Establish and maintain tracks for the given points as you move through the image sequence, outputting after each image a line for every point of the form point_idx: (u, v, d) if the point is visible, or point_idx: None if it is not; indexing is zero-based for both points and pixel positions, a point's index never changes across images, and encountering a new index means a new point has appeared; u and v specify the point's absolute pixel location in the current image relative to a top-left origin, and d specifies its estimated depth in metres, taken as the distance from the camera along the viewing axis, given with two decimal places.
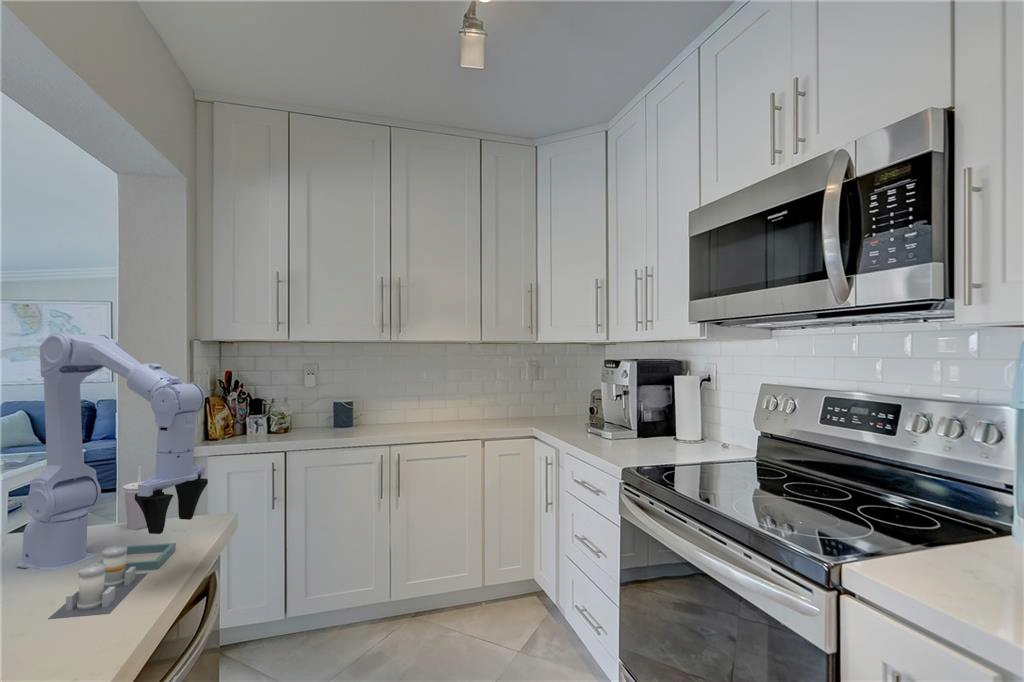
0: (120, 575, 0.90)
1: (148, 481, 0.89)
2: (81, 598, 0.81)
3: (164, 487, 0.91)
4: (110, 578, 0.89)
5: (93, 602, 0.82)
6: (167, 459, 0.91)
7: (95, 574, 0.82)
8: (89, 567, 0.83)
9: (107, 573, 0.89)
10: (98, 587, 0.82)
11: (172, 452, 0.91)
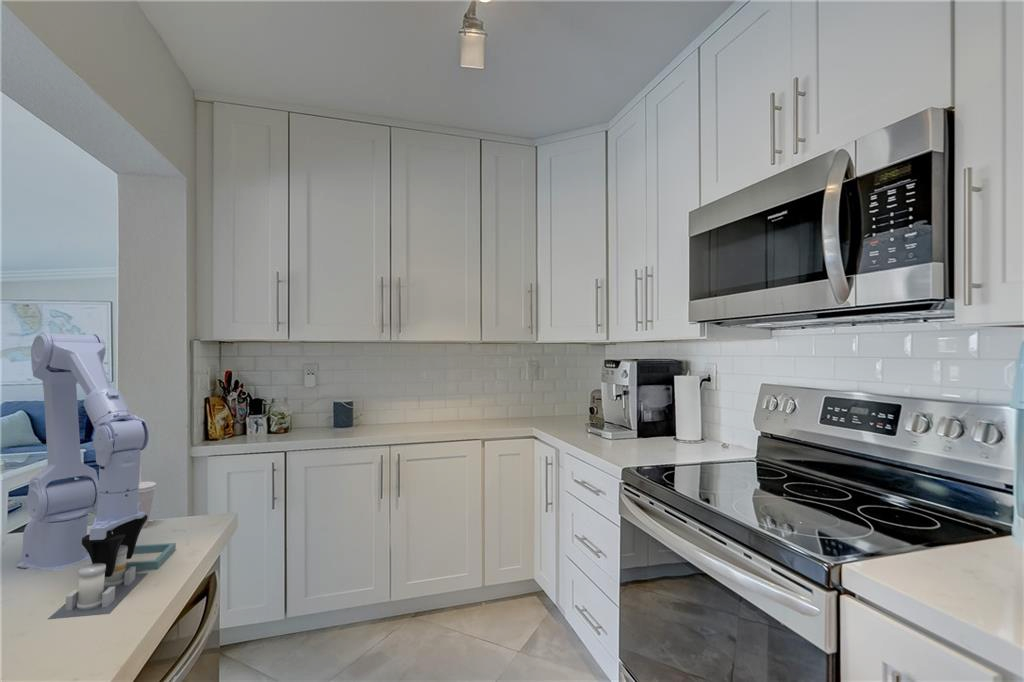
0: (120, 575, 0.90)
1: (96, 524, 0.86)
2: (81, 598, 0.81)
3: (111, 528, 0.88)
4: (110, 578, 0.89)
5: (93, 602, 0.82)
6: (115, 499, 0.88)
7: (95, 574, 0.82)
8: (89, 567, 0.83)
9: None
10: (98, 587, 0.82)
11: (120, 491, 0.89)
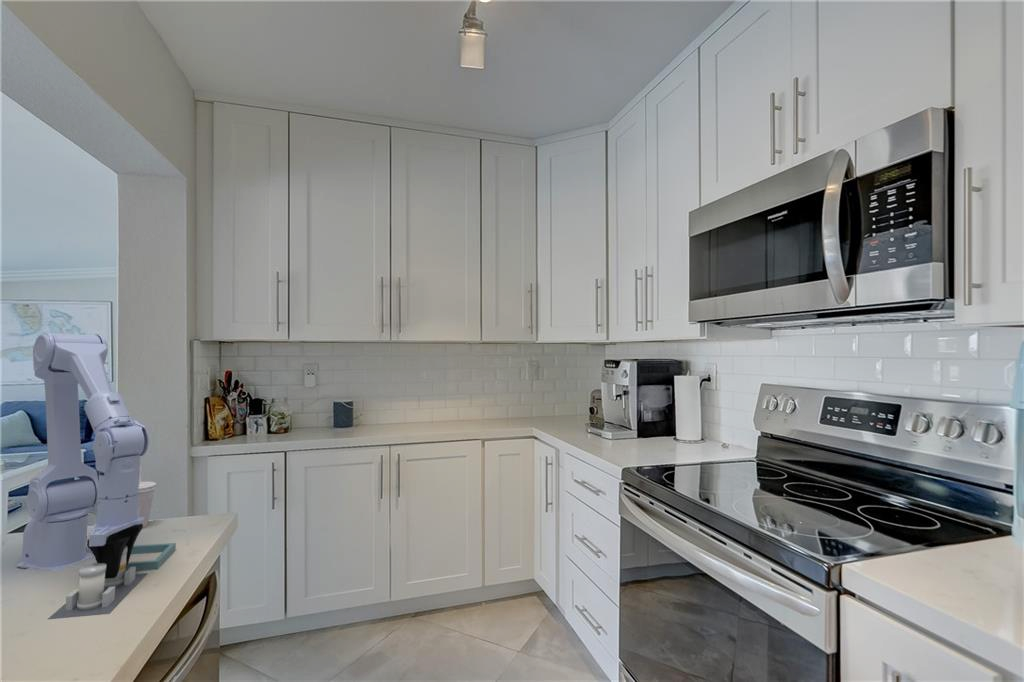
0: (120, 575, 0.90)
1: (96, 530, 0.86)
2: (81, 598, 0.81)
3: (111, 534, 0.88)
4: (110, 578, 0.89)
5: (93, 602, 0.82)
6: (114, 505, 0.88)
7: (95, 574, 0.82)
8: (89, 567, 0.83)
9: None
10: (98, 587, 0.82)
11: (120, 497, 0.89)
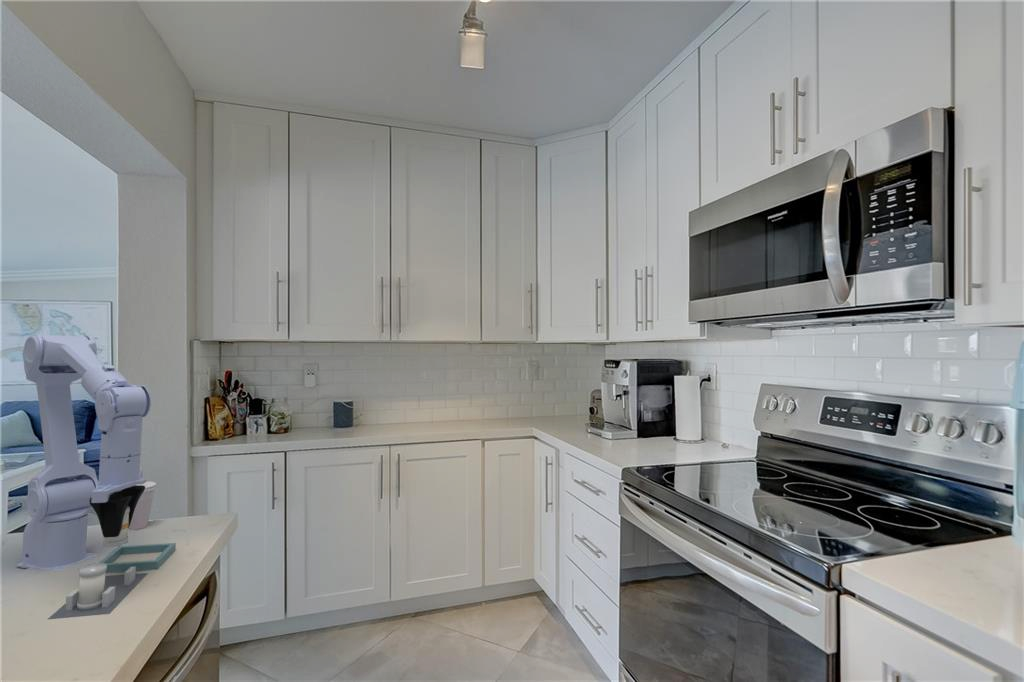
0: (122, 535, 0.90)
1: (98, 488, 0.86)
2: (81, 598, 0.81)
3: (113, 493, 0.88)
4: (112, 537, 0.89)
5: (93, 602, 0.82)
6: (117, 464, 0.88)
7: (96, 574, 0.82)
8: (90, 567, 0.83)
9: None
10: (98, 587, 0.82)
11: (122, 456, 0.89)
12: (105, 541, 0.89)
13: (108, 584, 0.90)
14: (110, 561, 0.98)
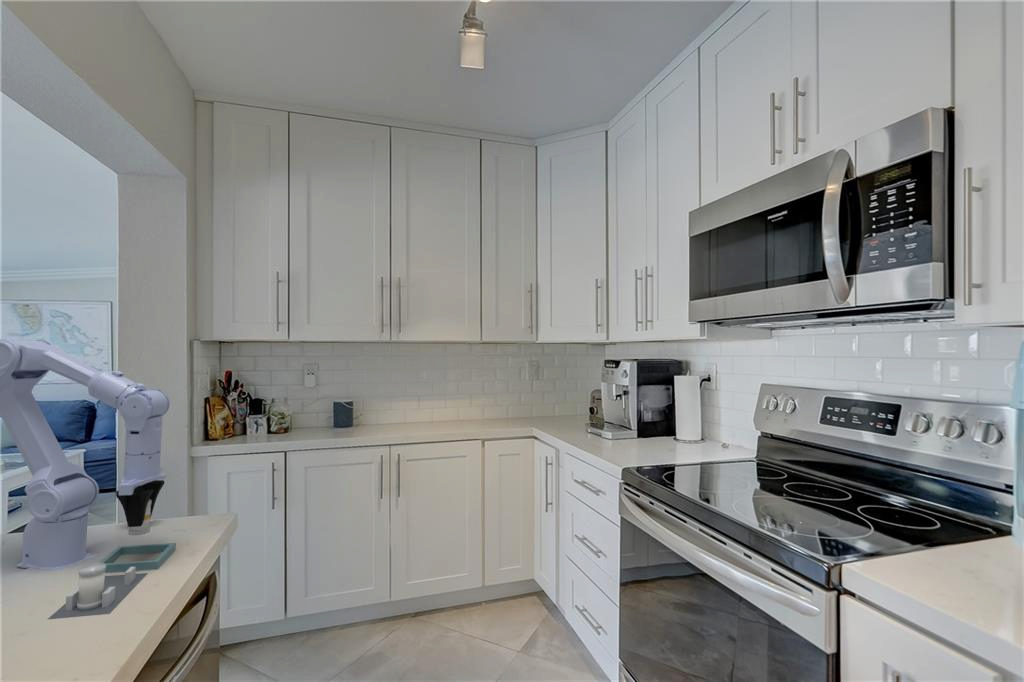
0: (145, 524, 0.99)
1: (124, 482, 0.95)
2: (81, 598, 0.81)
3: (137, 487, 0.98)
4: (136, 527, 0.98)
5: (92, 602, 0.82)
6: (140, 460, 0.98)
7: (95, 573, 0.82)
8: (89, 567, 0.83)
9: None
10: (97, 587, 0.82)
11: (145, 454, 0.98)
12: (130, 530, 0.98)
13: (108, 584, 0.90)
14: (110, 561, 0.98)
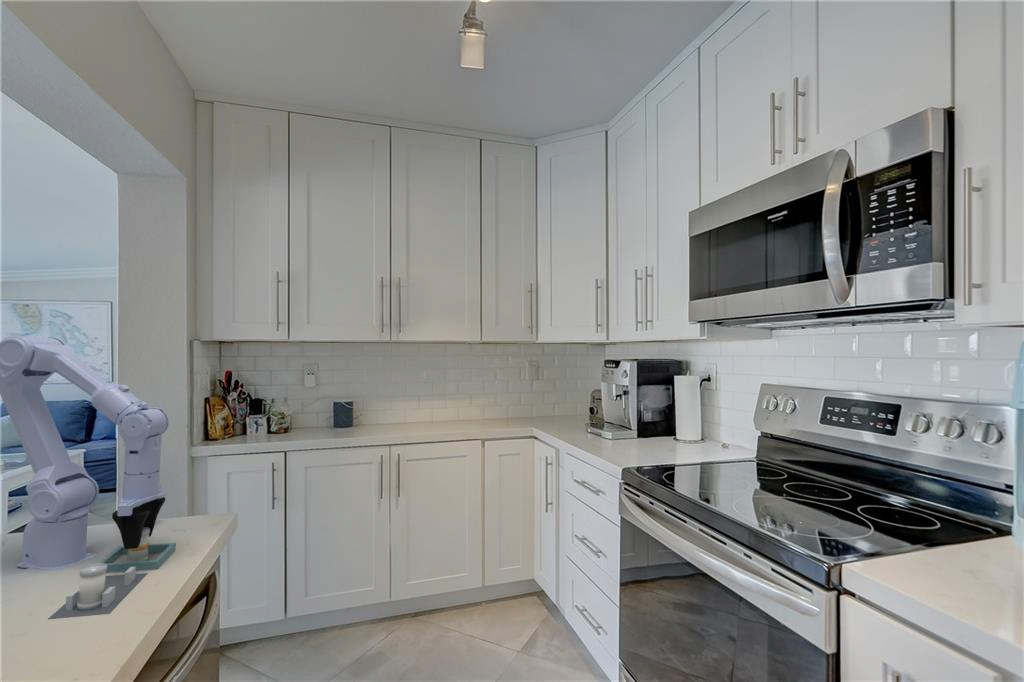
0: (143, 554, 0.99)
1: (123, 502, 0.95)
2: (81, 597, 0.81)
3: (136, 506, 0.97)
4: (135, 556, 0.98)
5: (92, 602, 0.82)
6: (139, 480, 0.98)
7: (95, 574, 0.82)
8: (90, 566, 0.83)
9: (132, 552, 0.98)
10: (97, 587, 0.82)
11: (144, 473, 0.98)
12: (128, 560, 0.98)
13: (108, 584, 0.90)
14: (110, 561, 0.98)
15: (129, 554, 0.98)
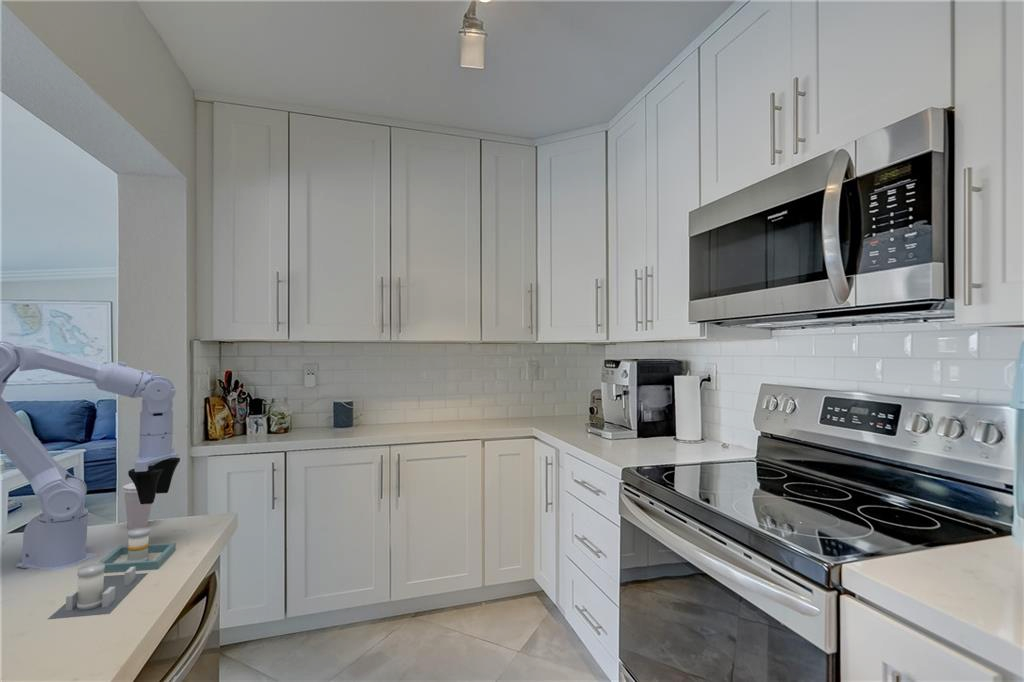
0: (143, 554, 0.99)
1: (139, 460, 1.03)
2: (80, 598, 0.81)
3: (151, 464, 1.06)
4: (134, 556, 0.98)
5: (92, 602, 0.82)
6: (154, 440, 1.06)
7: (93, 574, 0.82)
8: (88, 567, 0.83)
9: (132, 552, 0.98)
10: (96, 587, 0.82)
11: (158, 434, 1.06)
12: (128, 560, 0.98)
13: (108, 584, 0.90)
14: (110, 561, 0.98)
15: (129, 554, 0.98)
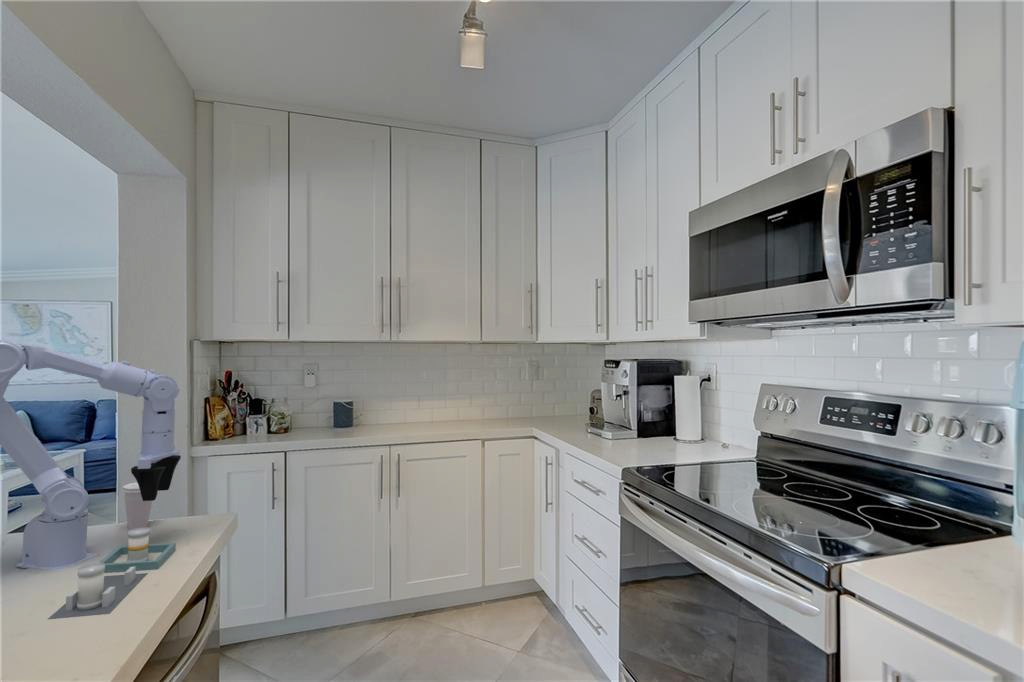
0: (143, 554, 0.99)
1: (142, 457, 1.05)
2: (80, 598, 0.81)
3: (154, 462, 1.07)
4: (134, 556, 0.98)
5: (91, 602, 0.81)
6: (156, 438, 1.07)
7: (92, 574, 0.82)
8: (88, 567, 0.83)
9: (132, 552, 0.98)
10: (96, 587, 0.82)
11: (160, 432, 1.08)
12: (128, 560, 0.98)
13: (108, 584, 0.90)
14: (110, 561, 0.98)
15: (129, 554, 0.98)
